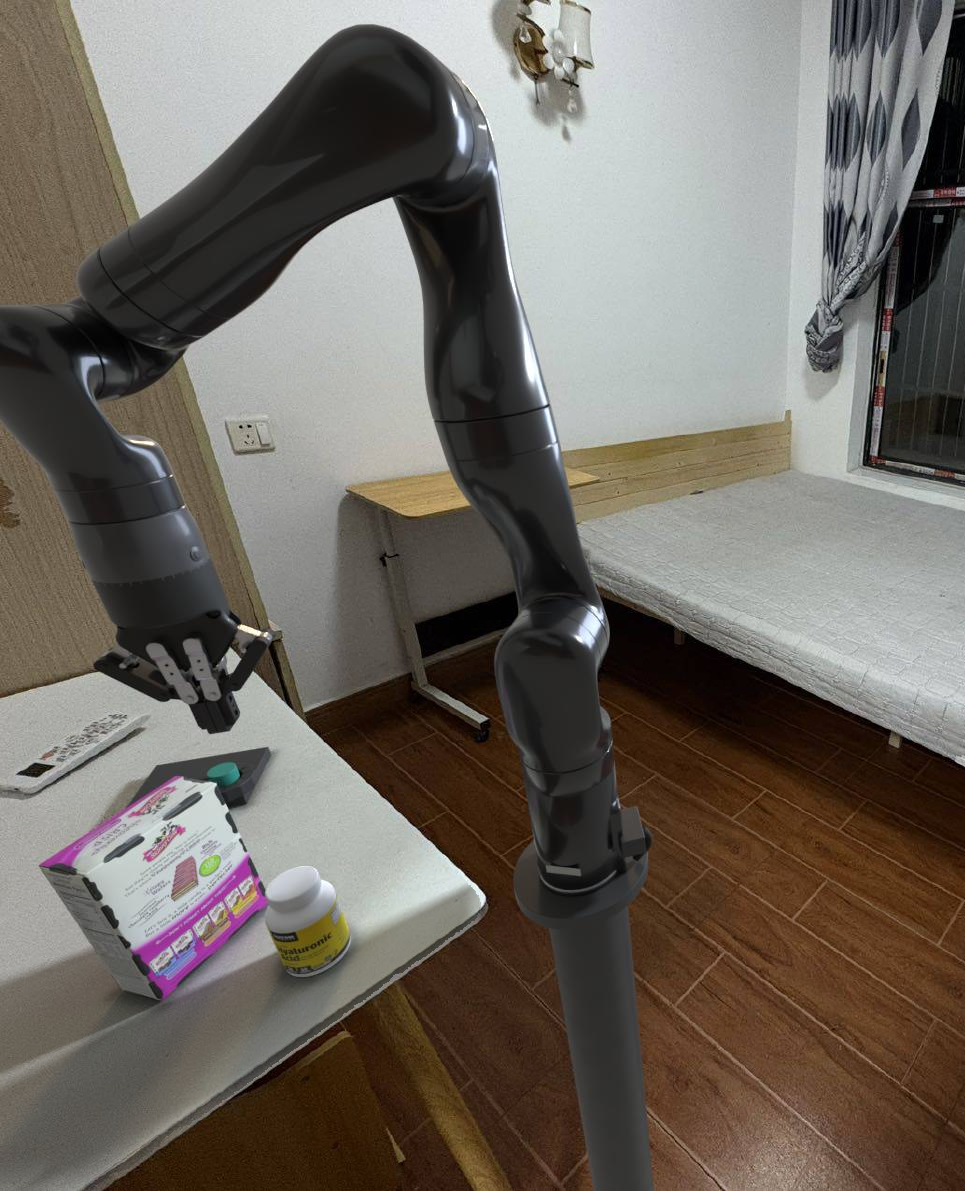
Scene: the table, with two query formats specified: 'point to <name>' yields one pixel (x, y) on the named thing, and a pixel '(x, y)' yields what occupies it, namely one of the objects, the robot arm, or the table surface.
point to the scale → (233, 794)
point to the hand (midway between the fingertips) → (223, 728)
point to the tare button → (223, 774)
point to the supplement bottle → (306, 921)
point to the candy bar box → (159, 885)
